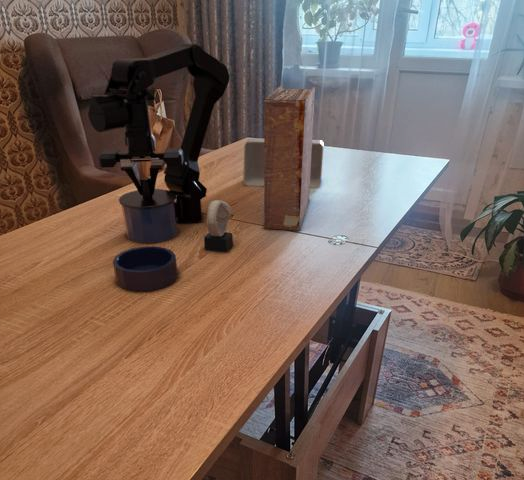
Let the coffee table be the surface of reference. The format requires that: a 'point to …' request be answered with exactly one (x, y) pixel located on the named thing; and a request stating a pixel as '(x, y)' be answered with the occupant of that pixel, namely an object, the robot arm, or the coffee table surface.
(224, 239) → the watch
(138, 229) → the pot
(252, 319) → the coffee table surface
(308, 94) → the book
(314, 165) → the white rounded tray
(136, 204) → the lid
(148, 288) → the pan
